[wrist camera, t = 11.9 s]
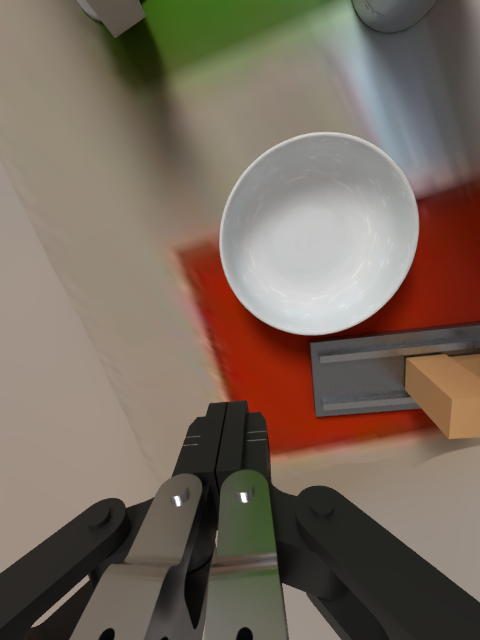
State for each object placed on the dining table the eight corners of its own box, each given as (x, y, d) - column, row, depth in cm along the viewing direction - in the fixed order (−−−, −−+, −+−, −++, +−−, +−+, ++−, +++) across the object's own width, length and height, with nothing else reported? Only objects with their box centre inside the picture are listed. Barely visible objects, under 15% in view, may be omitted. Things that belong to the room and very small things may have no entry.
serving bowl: (281, 345, 42) (286, 367, 35) (194, 219, 37) (180, 217, 31) (420, 262, 37) (454, 270, 31) (339, 107, 33) (359, 77, 26)
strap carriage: (405, 389, 41) (448, 439, 32) (406, 357, 40) (452, 399, 30) (496, 381, 40) (571, 430, 30) (501, 348, 38) (581, 388, 29)
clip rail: (314, 412, 45) (325, 447, 38) (308, 339, 41) (319, 364, 34) (496, 397, 42) (545, 432, 35) (507, 318, 39) (564, 339, 31)
